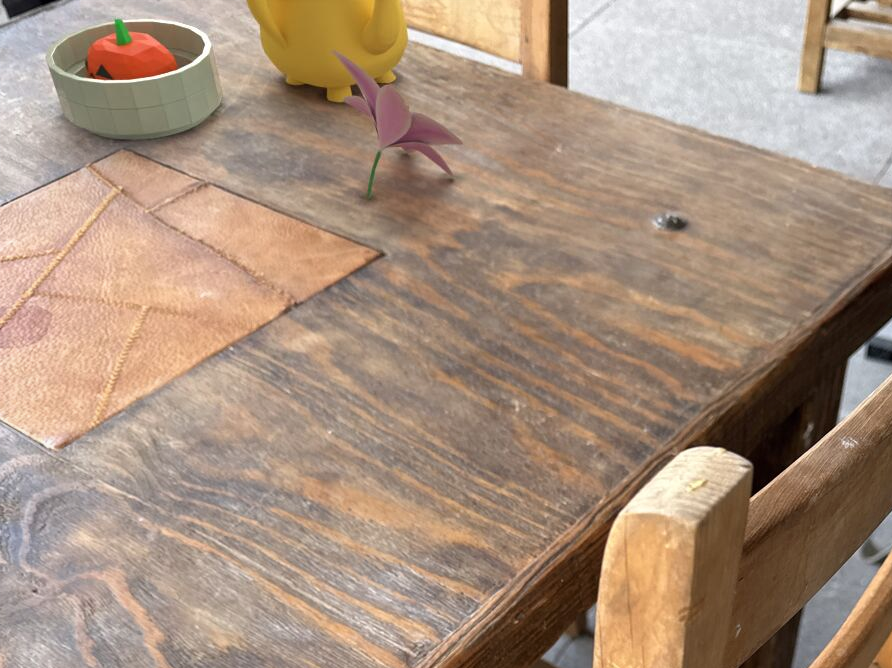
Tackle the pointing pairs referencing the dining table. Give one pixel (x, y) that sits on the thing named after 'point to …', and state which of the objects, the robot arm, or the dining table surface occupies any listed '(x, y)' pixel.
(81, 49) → the bowl
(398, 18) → the yellow rounded piece
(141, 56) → the pumpkin
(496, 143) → the dining table surface
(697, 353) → the dining table surface
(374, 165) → the lily
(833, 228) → the dining table surface
